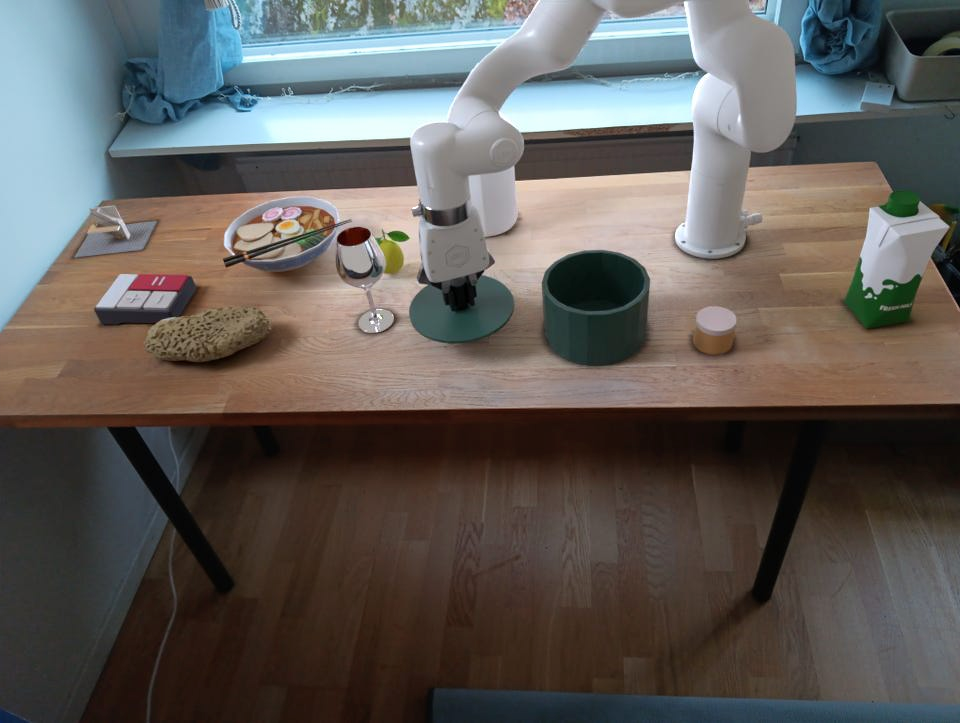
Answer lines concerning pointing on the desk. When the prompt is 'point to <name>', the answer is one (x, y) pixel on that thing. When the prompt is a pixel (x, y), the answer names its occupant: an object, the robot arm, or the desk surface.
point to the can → (495, 200)
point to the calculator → (145, 298)
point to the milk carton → (893, 259)
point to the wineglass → (363, 272)
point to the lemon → (392, 250)
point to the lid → (462, 311)
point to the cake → (714, 330)
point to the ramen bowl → (282, 233)
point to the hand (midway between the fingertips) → (460, 302)
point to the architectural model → (113, 234)
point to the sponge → (207, 334)
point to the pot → (595, 306)
